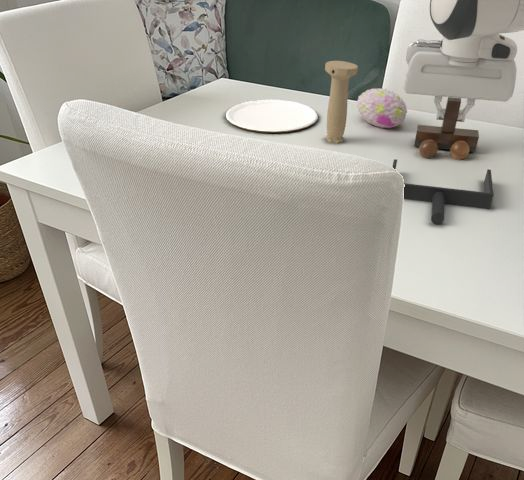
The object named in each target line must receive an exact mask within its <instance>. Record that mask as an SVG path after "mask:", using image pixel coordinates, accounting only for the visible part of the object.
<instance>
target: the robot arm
mask: <svg viewBox="0 0 524 480" xmlns="http://www.w3.org/2000/svg"><path fill="white" fill-rule="evenodd" d="M429 16H430V20H431V22H432V24H433V26H434V27H435V29H436V30H437V32H438V33H439V34H440V35H441V36H442V40H433V39H431V40H430V39H429V40H426V39H417V40H416V41H414V42H412V43H411V44H410V45H408V47H407V50H406V57H405V61H406V64H407V65H408V66H407V70H406V73H405V77H404V81H403V85H402V86H403V88H402V89H403V90H404V92H405V93H406V94H409V95H420V96H433V97H434V99H433V102H434V106H435V108H436V110H437V113H436V120H438V121H439V120H440V121H443V120H444V115H445V111H446V108H443V107H442V105H441V102H442V101H443V98H444V97H445V98H448V97H452V98H461V99H466V105H465V106H464V107H463V108H462V109H459V114H458V118H457V122H458V123H464V122H465V120H466V116H467V114H468V113H469V112H470V111H471V109H472V108H474V106H475V103H476V100H479V101H492V102H503V103H505V102H508V101H510V100H511V98H513V94H514V91H515V86H516V82H517V81H516V79H517V73H518V72H517V70H518V69H517V64H516V61H515V58H516V56H517V53H518V45H517V43H516V41H515V40H514V39H512V38H510V37H508V36H505V35H502V34H509V33H510V34H513V33H518V32H522V31H524V0H430V1H429Z"/></svg>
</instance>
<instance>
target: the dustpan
mask: <svg viewBox="0 0 524 480" xmlns="http://www.w3.org/2000/svg"><path fill="white" fill-rule="evenodd" d="M397 164H398V159H395V158H394V159H393V162H392V167H393V168H394V169H397ZM403 183H404V184H405V187H404V199H403V200H409V201H416V202H417V201H418V202H425V203H426V202H427V203H431V211H430V213H431V215H430V221H431V222H432V223H433V224H434V225H440V224H442V223H443V222H444V221H445V208H446V207H445V205H451V206H459V207H468V208H474V209H475V208H476V209H483V210H484V209H486V210H490V209H491V206H492V202H493V199H494V195H495V194H494V185H493V177H492V169H489V168H488V169H487V170H486V174H485V177H484V181H483V191H475V190H467V189H458V188H449V187H442V186H431V185H422V184H415V183H405V182H403Z"/></svg>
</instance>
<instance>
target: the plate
mask: <svg viewBox="0 0 524 480" xmlns="http://www.w3.org/2000/svg"><path fill="white" fill-rule="evenodd" d="M318 117H319V116H318V113H317V112H316V111H315V109H314V108H312V107H310V106H309V105H306V104H303V103H300V102H296V101H291V100H283V99H257V100H250V101H244V102H241V103H238V104H236V105H234V106H231V107H230V108H229V109H228V110H226V114H225V118H226V120H227V121H228V122H229V123H230V124H231V125H233V126H235V127H237V128H239V129H242V130H246V131H249V132H256V133H264V134H265V133H267V134H269V133H270V134H281V133H290V132H296V131H301V130H303V129H304V130H305V129H307V128H309V127H311V126H312V125H315V123H316V122H317V121H318Z"/></svg>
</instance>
